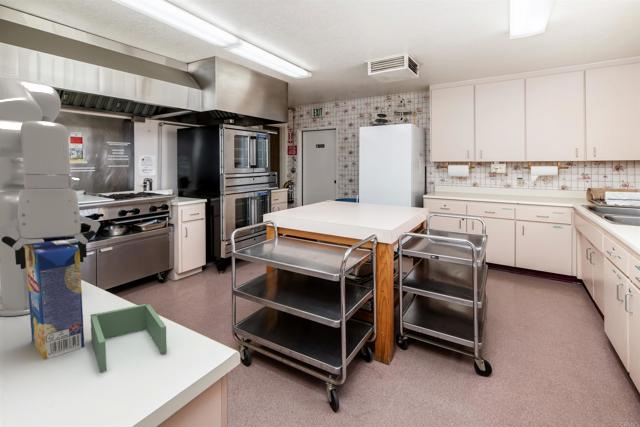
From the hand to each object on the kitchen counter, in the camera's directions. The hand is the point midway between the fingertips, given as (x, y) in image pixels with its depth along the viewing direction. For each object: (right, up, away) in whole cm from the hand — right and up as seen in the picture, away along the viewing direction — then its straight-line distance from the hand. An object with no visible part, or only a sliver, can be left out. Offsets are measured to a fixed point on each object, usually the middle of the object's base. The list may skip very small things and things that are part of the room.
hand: (53, 264), depth 72 cm
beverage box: (-1, -18, +2) cm, 18 cm away
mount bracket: (+15, -19, +2) cm, 24 cm away
